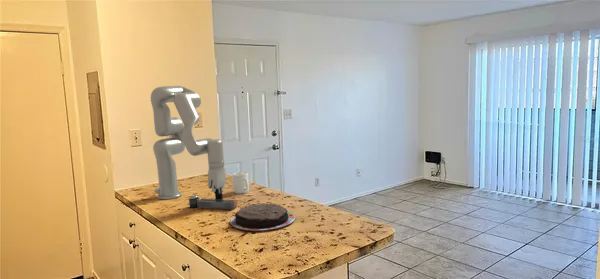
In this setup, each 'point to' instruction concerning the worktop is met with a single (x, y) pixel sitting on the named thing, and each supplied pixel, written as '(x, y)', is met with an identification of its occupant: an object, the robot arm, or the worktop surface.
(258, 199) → the worktop surface
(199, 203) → the base
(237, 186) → the cup
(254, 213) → the chocolate cake
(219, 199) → the tong arm
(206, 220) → the worktop surface
